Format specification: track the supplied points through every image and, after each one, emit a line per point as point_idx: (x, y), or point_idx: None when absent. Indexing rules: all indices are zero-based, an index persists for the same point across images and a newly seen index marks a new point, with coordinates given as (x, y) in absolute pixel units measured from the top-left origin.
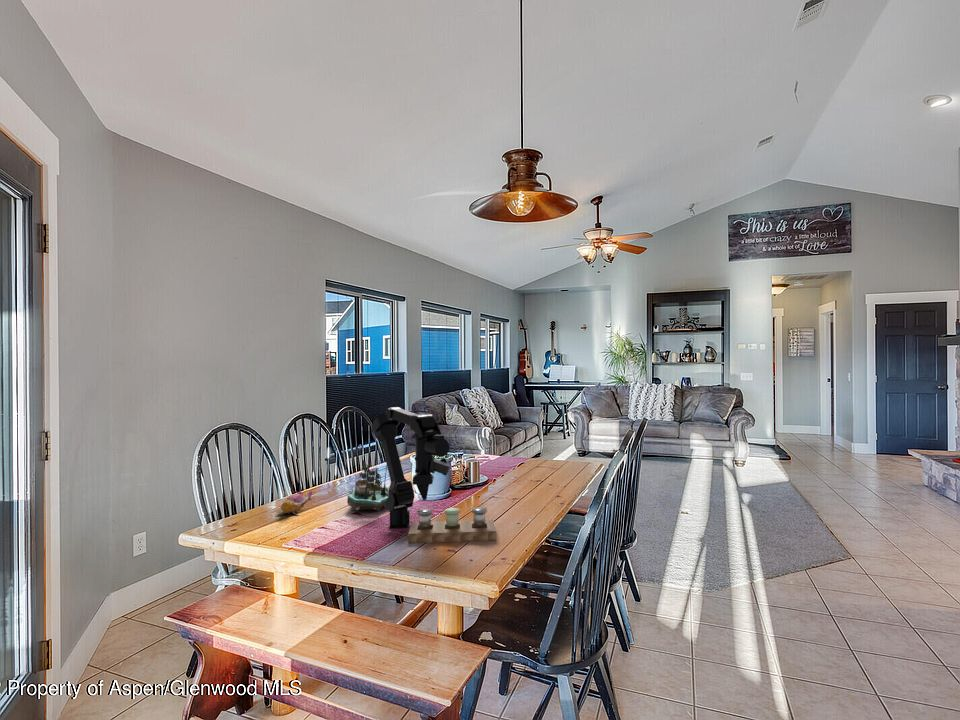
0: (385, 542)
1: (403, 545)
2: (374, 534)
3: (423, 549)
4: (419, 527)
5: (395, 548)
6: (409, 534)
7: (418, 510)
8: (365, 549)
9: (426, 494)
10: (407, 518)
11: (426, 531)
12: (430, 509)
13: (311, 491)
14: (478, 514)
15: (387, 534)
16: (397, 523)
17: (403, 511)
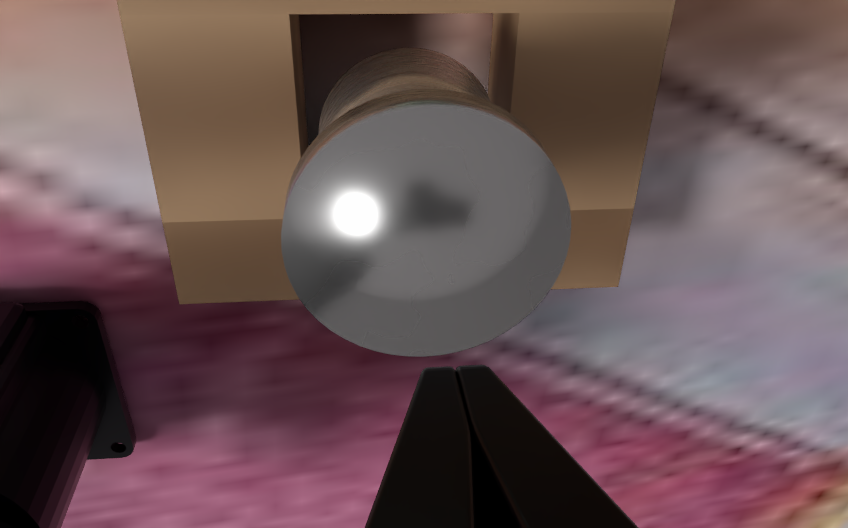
0: None
1: (637, 266)
2: (308, 506)
3: (817, 68)
4: None
5: (694, 317)
6: (616, 271)
7: (397, 344)
8: (647, 493)
9: (575, 473)
10: (5, 363)
11: (587, 92)
12: (344, 153)
13: None
14: None
15: (310, 426)
16: (96, 415)
17: (9, 469)
